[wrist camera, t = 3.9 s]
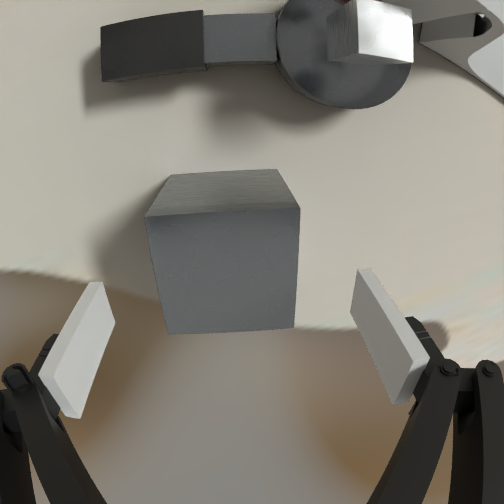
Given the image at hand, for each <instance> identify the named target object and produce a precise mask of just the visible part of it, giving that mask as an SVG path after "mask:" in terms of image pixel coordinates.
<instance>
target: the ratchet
mask: <svg viewBox="0 0 504 504" xmlns="http://www.w3.org/2000/svg"><path fill="white" fill-rule="evenodd" d="M380 1H381V0H289V1H288V2H287V3H286V5H285V6H284V8H283V9H282V11H281V12H280V13H279V15H278V17H277V19H276V16H275V14H222V15H206V16H205V15H204V12H203V10H196V11H186V12H178V13H170V14H163V15H156V16H150V17H144V18H139V19H134V20H129V21H124V22H119V23H115V24H110V25H106V26H102V27H101V70H102V82H121V81H126V80H132V79H138V78H144V77H151V76H158V75H166V74H174V73H183V72H193V71H206V70H207V66H218V65H241V64H273V63H274V62H275V63H276V65H277V67H278V69H279V71H280V73H281V74H282V76H283V77H284V78H285V80H286V81H287V82H288V83H289V84H290V85H291V86H292V87H293V88H294V89H295V90H296V91H297V92H299V93H300V94H302V95H303V96H305V97H307V98H309V99H311V100H313V101H315V102H318V103H321V104H325V105H329V106H335V107H341V108H348V109H363V108H369V107H373V106H376V105H379V104H381V103H383V102H385V101H387V100H388V99H390V98H391V97H392V96H394V95H395V94H396V93H397V92H398V91H399V90H400V88H401V87H402V85H403V84H404V83H405V81H406V79H407V77H408V74H409V71H410V68H411V63H413V29H412V13H411V9H407V8H404V7H400V6H396V5H392V4H388V3H384V2H380Z"/></svg>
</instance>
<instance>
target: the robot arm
mask: <svg viewBox="0 0 504 504" xmlns="http://www.w3.org/2000/svg"><path fill="white" fill-rule="evenodd" d="M350 313H351V315H352V317H353V319H354V321H355V323H356V325H357V327H358V329H359V331H360V333H361V335H362V337H363V340H364V342H365V344H366V346H367V348H368V350H369V353H370V355H371V357H372V359H373V361H374V363H375V366H376V368H377V370H378V372H379V375H380V376H381V379H382V381H383V383H384V386H385V388H386V390H387V393H388V395H389V397H390V400H391V402H392V404H393V405H397V404H402V403H406V402H409V400H410V398H411V396H412V394H414V396H415V398H416V401H415V404H414V405H413V407H412V409H411V411H410V412H409V415H410V416H409V418H408V421H407V423H406V426H405V428H404V430H403V432H402V435H401V437H400V439H399V442H398V444H397V446H396V448H395V450H394V452H393V455H392V457H391V459H390V461H389V463H388V465H387V467H386V469H385V471H384V473H383V475H382V477H381V479H380V481H379V482H378V484H377V486H376V488H375V490H374V492H373V493H372V495H371V497H370V499H369V501H368V502H367V504H422V502H423V499H424V497H425V494H426V492H427V490H428V487H429V485H430V482H431V480H432V477H433V474H434V472H435V469H436V466H437V464H438V460H439V458H440V455H441V451H442V449H443V446H444V442H445V439H446V436H447V432H448V429H449V426H450V422H451V419H452V415H453V455H452V471H451V484H450V492H449V501H448V504H504V383H503V378H502V374H501V370H500V368H499V366H498V365H497V364H496V363H494V362H493V361H490V360H482V361H480V362H479V363H478V364H477V366H476V368H460V366H459V365H458V364H457V363H456V362H455V361H453V360H451V359H445V358H444V357H443V355H442V353H441V352H440V350H439V349H438V347H437V346H436V344H435V343H434V341H433V340H432V338H430V336H429V334H428V332H426V329H425V328H424V326H423V325H422V323H421V322H419V321H418V320H417V319H415V318H414V317H413V316H412V317H404V316H403V314H402V313H401V311H400V310H399V308H398V307H397V305H396V304H395V302H394V301H393V299H392V298H391V297H390V295H389V294H388V292H387V291H386V289H385V288H384V286H383V285H382V283H381V282H380V281H379V279H378V278H377V276H376V275H375V273H374V272H373V271H372V269H371V268H366V269H357V275H356V281H355V287H354V293H353V299H352V304H351V310H350ZM114 325H115V320H114V317H113V314H112V311H111V308H110V305H109V302H108V299H107V295H106V292H105V289H104V285H103V282H90V283H89V284H88V286H87V288H86V289H85V291H84V292H83V294H82V296H81V297H80V299H79V301H78V303H77V304H76V306H75V307H74V309H73V311H72V313H71V314H70V316H69V318H68V320H67V321H66V323H65V325H64V327H63V329H62V330H61V332H60V334H53V335H52V336H51V337H50V338H49V339H48V340H47V341H46V343H45V344H44V346H43V348H42V350H41V352H40V353H39V356H38V357H37V359H36V361H35V363H34V365H33V366H32V368H31V370H30V372H28V370H27V369H26V367H25V366H24V365H23V364H20V363H16V364H13V365H11V366H9V367H7V369H6V370H5V371H4V372H3V375H2V382H3V383H4V384H5V386H6V387H7V389H4V390H0V504H36V501H35V495H34V490H33V484H32V478H31V471H30V464H29V455H28V452H29V454H30V457H31V460H32V462H33V465H34V467H35V470H36V472H37V475H38V477H39V480H40V482H41V484H42V486H43V488H44V491H45V493H46V495H47V497H48V500H49V502H50V504H107V503H106V501H105V500H104V498H103V497H102V495H101V494H100V492H99V490H98V489H97V487H96V485H95V484H94V482H93V480H92V479H91V477H90V475H89V474H88V472H87V470H86V468H85V466H84V465H83V463H82V461H81V459H80V457H79V455H78V453H77V452H76V450H75V448H74V446H73V444H72V442H71V440H70V438H69V436H68V434H67V431H66V429H65V427H64V425H63V423H62V421H61V419H60V417H59V416H58V414H59V411H60V409H61V410H62V412H63V413H64V414H65V416H67V417H73V418H79V419H80V418H81V415H82V412H83V409H84V406H85V403H86V400H87V397H88V394H89V391H90V388H91V385H92V383H93V380H94V377H95V374H96V372H97V369H98V366H99V364H100V361H101V358H102V356H103V353H104V350H105V348H106V345H107V343H108V340H109V338H110V335H111V333H112V330H113V327H114Z"/></svg>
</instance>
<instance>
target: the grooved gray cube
mask: <svg viewBox="0 0 504 504" xmlns="http://www.w3.org/2000/svg"><path fill="white" fill-rule="evenodd" d="M144 219H145V225H146V231H147V236H148V242H149V247H150V253H151V258H152V263H153V268H154V273H155V278H156V283H157V288H158V292H159V297H160V301H161V306H162V310H163V314H164V318H165V322H166V327H167V331H168V334H198V333H199V334H200V333H225V332H243V331H260V330H274V329H287V328H294V318H295V304H296V288H297V271H298V253H299V232H300V207H299V205H298V203H297V202H296V200H295V198H294V196H293V195H292V193H291V191H290V190H289V188H288V186H287V185H286V183H285V181H284V180H283V178H282V176H281V175H280V173H279V171H278V170H277V169H267V170H240V171H221V172H205V173H190V174H178V175H171V176H170V177H169V179H168V180H167V182H166V183H165V185H164V186H163V188H162V189H161V191H160V192H159V194H158V196H157V197H156V199H155V200H154V202H153V203H152V205H151V207H150V208H149V210H148V212H147V213H146V215H145V216H144Z"/></svg>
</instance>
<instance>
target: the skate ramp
mask: <svg viewBox="0 0 504 504" xmlns="http://www.w3.org/2000/svg"><path fill="white" fill-rule="evenodd" d="M380 2H384V3H388V4H392V5H396V6H400V7H404V8H407V9H411V13H412V25H413V24H417V23H422V22H423V24H422V30H421V35H420V40H419V43H421V44H422V45H424V46H426V47H428V48H430V49H431V50H433V51H435V52H437V53H438V54H440V55H442V56H443V57H445V58H447V59H448V60H450V61H452V62H453V63H455V64H456V65H458V66H460V67H461V68H463V69H464V70H466V71H467V72H469V73H470V74H472V75H473V76H474V77H476V78H477V79H479V80H480V81H482V82H483V83H485V84H486V85H487V86H489V87H490V88H491V89H493V90H494V91H495V92H497V93H498V94H499V95H501V96H502V97H503V98H504V0H381V1H380Z"/></svg>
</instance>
